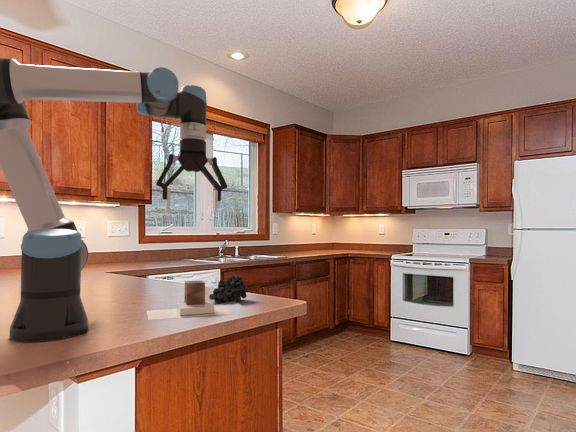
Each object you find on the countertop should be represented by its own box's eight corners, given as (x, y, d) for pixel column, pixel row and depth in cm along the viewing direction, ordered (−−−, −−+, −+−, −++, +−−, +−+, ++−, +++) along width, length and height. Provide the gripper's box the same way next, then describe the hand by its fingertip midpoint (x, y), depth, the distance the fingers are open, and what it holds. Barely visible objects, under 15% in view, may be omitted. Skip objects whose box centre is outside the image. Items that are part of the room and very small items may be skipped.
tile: (180, 308, 103) (214, 306, 106) (176, 302, 111) (208, 300, 115) (180, 316, 103) (214, 313, 106) (176, 309, 111) (208, 307, 115)
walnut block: (186, 305, 108) (187, 283, 108) (184, 302, 113) (184, 281, 113) (204, 304, 110) (205, 282, 110) (201, 300, 114) (202, 280, 115)
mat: (148, 322, 99) (148, 320, 99) (146, 312, 110) (146, 310, 110) (233, 315, 107) (233, 313, 107) (224, 307, 118) (224, 305, 118)
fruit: (214, 276, 120) (248, 271, 131) (197, 283, 124) (232, 277, 136) (220, 304, 118) (254, 297, 130) (203, 310, 123) (238, 302, 134)
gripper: (148, 133, 107) (147, 210, 106) (237, 141, 116) (236, 212, 115) (147, 139, 114) (146, 211, 113) (231, 146, 123) (231, 213, 122)
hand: (192, 212), depth 114 cm, fingers open, 13 cm apart
